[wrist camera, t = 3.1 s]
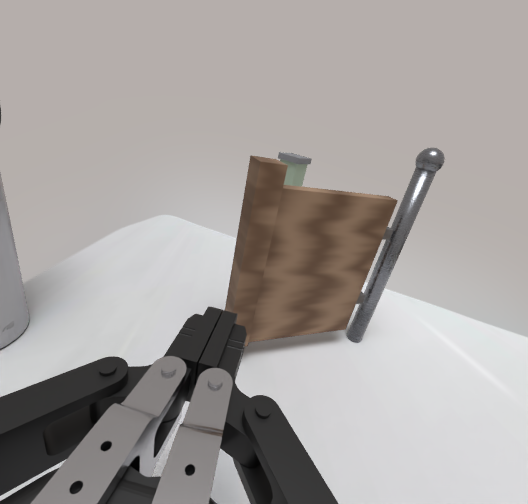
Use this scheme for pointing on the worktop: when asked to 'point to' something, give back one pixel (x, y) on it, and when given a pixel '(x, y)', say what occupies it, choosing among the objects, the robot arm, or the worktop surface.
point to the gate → (301, 254)
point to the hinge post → (396, 238)
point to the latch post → (294, 168)
